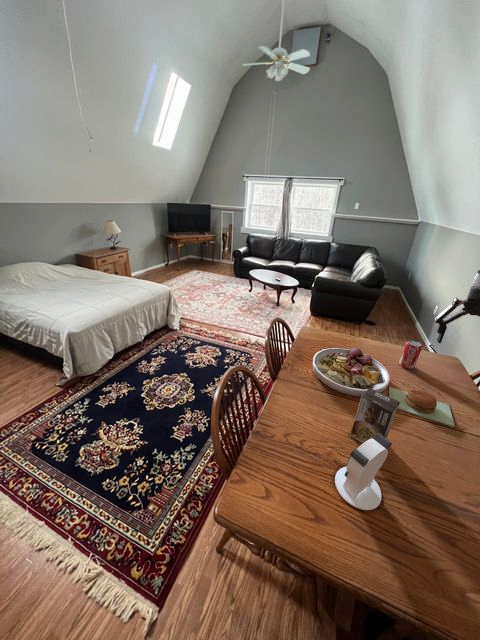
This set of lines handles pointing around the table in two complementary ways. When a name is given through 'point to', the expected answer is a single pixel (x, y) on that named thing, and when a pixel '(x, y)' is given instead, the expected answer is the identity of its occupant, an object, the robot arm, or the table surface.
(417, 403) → the burger
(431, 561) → the table surface
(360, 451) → the white oval-base stand
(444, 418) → the mat
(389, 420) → the coffee box
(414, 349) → the beverage can
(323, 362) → the bowl
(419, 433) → the table surface
